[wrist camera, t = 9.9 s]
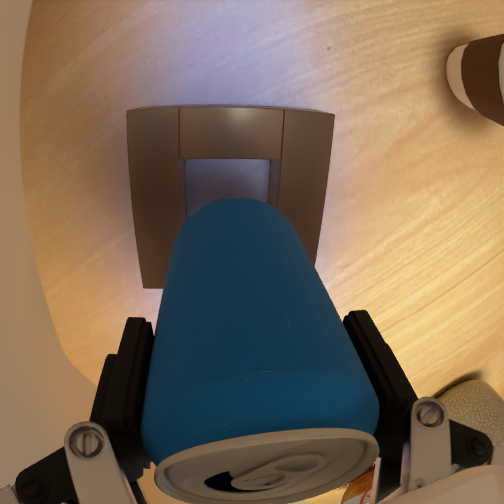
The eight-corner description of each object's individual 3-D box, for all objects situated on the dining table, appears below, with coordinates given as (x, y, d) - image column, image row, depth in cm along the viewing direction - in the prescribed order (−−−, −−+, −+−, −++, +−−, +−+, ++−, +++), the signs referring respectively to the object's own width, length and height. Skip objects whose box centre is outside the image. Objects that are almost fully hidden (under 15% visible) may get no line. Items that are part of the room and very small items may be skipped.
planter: (480, 391, 55) (512, 446, 39) (411, 434, 58) (437, 495, 42) (489, 350, 45) (535, 418, 29) (403, 406, 49) (439, 486, 32)
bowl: (318, 485, 68) (324, 508, 61) (396, 447, 61) (406, 472, 54) (356, 488, 79) (362, 506, 72) (420, 455, 72) (428, 474, 65)
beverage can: (150, 258, 16) (97, 482, 6) (229, 165, 14) (269, 386, 4) (241, 317, 19) (269, 515, 8) (319, 243, 17) (429, 442, 6)
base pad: (150, 263, 28) (143, 288, 25) (140, 107, 21) (126, 110, 18) (300, 261, 30) (311, 285, 26) (317, 110, 23) (335, 114, 19)
